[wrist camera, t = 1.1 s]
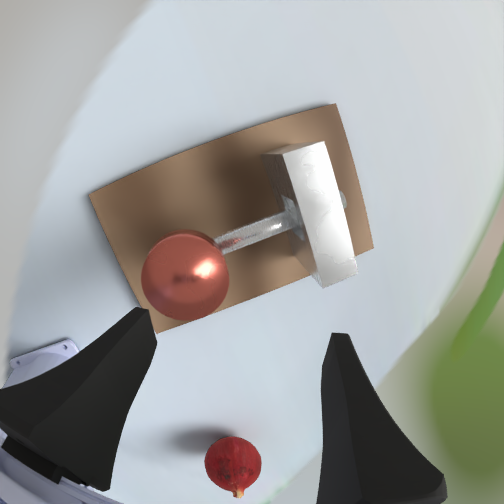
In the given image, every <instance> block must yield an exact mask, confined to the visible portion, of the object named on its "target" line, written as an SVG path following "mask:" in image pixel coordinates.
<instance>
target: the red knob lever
mask: <svg viewBox="0 0 504 504" xmlns="http://www.w3.org/2000/svg"><path fill="white" fill-rule="evenodd" d="M339 194H340V198H341V202H342V205H343V209H344V208H346V206H347V203H346V199H345V196H344V194H343V193H342V192H341V191H340V190H339ZM297 226H300V222H299V219H298V215H297V212H296V209H295V206H294V207H291V208H288V209H286V210H283V211H280V212H277V213H275V214H272V215H269V216H267V217H264V218H262V219H259V220H256V221H254V222H251V223H248V224H246V225H243V226H241V227H238V228H235V229H233V230H230V231H228V232H225V233H222V234H220V235H217V236H215V237H212V238H211V237H209V236H208V235H206V234H204V233H202V232H199V231H196V230H190V229H181V230H175V231H172V232H169V233H167V234H165V235H164V236H162V237H161V238H160V239H159V240H157V241H156V243H155V244H154V245H153V246H152V248H151V250H150V252H149V254H148V256H147V258H146V260H145V262H144V265H143V268H142V272H141V284H142V289H143V292H144V294H145V297H146V298H147V300H148V302H149V303H150V304H151V305H152V306H153V307H154V308H155V309H156V310H157V311H158V312H160V313H161V314H163V315H165V316H167V317H169V318H172V319H176V320H183V321H189V320H196V319H200V318H203V317H205V316H207V315H209V314H211V313H212V312H214V311H215V310H216V309H217V308H218V307H219V306H220V305H221V304H222V302H223V301H224V299H225V297H226V295H227V292H228V288H229V273H228V268H227V264H226V260H225V257H224V254H227V253H230V252H232V251H235V250H237V249H240V248H242V247H245V246H248V245H250V244H253V243H255V242H258V241H261V240H263V239H266V238H268V237H271V236H273V235H276V234H279V233H281V232H284V231H286V230H289V229H292V228H294V227H297Z"/></svg>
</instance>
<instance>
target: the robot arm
mask: <svg viewBox="0 0 504 504" xmlns="http://www.w3.org/2000/svg"><path fill="white" fill-rule="evenodd" d="M64 345H66V346H67V347H65V346H64ZM156 346H157V340H156V337H155V333H154V329H153V325H152V321H151V317H150V313H149V309H144V308H138V307H135V308H134V309H133V310H131V311H130V312H129V313H128V314H126V315H125V316H124V317H123V318H122V319H120V320H119V321H118V322H117V323H116V324H114V325H113V326H112V327H111V328H110V329H108V330H107V331H106V332H105V333H104V334H102V335H101V336H100V337H99V338H97V339H96V340H95V341H93V342H92V343H91V344H89V345H88V346H87V347H85V348H84V349H83V350H81V351H79V349H78V348H77V346H76V345H75V343H74V342H73V341H72V340H70V339H67V340H64V341H61V342H58V343H55V344H53V345H50V346H47V347H44V348H41V349H38V350H36V351H33V352H30V353H27V354H24V355H21V356H19V357H16V358H13V359H11V360H10V362H9V363H10V365H11V367H12V368H13V372H12V373H11V375H10V376H9V378H8V380H7V381H6V383H5V384H4V386H3V387H2V389H0V504H123V503H120V502H117V501H115V500H112V499H110V498H107V497H105V496H103V495H100V494H98V493H96V492H94V489H93V488H95V489H97V490H100V491H102V492H104V491H107V490H109V489H110V485H111V478H112V472H113V466H114V461H115V457H116V452H117V448H118V444H119V441H120V437H121V433H122V430H123V427H124V424H125V421H126V417H127V414H128V412H129V409H130V407H131V405H132V402H133V400H134V398H135V396H136V394H137V392H138V390H139V388H140V386H141V384H142V381H143V379H144V377H145V375H146V373H147V371H148V369H149V367H150V364H151V362H152V359H153V356H154V353H155V349H156ZM321 402H322V423H323V452H322V463H321V474H320V482H319V490H318V497H317V503H316V504H441V503H442V502H444V501H445V500H446V498H447V487H446V482H445V478H444V474H442V473H441V472H440V471H439V470H438V469H437V468H436V467H435V466H433V465H432V464H431V463H430V462H429V461H428V460H427V459H426V458H425V457H424V456H423V455H422V454H421V453H420V452H419V451H418V450H417V449H416V448H415V446H414V445H413V444H412V443H411V441H410V440H409V439H408V438H407V437H406V436H405V435H404V433H403V432H402V431H401V429H400V428H399V427H398V425H397V424H396V423H395V421H394V420H393V419H392V417H391V416H390V414H389V413H388V411H387V410H386V408H385V407H384V405H383V403H382V402H381V400H380V399H379V397H378V395H377V393H376V391H375V390H374V388H373V386H372V384H371V382H370V380H369V378H368V376H367V374H366V372H365V370H364V368H363V366H362V364H361V362H360V360H359V358H358V355H357V353H356V351H355V349H354V346H353V344H352V341H351V339H350V336H349V335H348V334H345V333H332V334H331V338H330V341H329V345H328V348H327V351H326V355H325V358H324V362H323V365H322V377H321Z"/></svg>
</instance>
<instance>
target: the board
mask: <svg viewBox="0 0 504 504" xmlns="http://www.w3.org/2000/svg"><path fill="white" fill-rule="evenodd" d="M319 141H324V142H325V146H326V149H327V152H328V155H329V159H330V162H331V166H332V169H333V172H334V176H335V179H336V183H337V187H338V190H340V191H341V192H342V193H343V194H344V196H345V199H346V203H347V206H346V208H344V213H345V217H346V221H347V225H348V229H349V233H350V238H351V242H352V246H353V251H354V255H355V256H357V255H359V254H362V253H364V252H366V251H368V250H371V249H373V248H374V246H373V241H372V236H371V232H370V227H369V222H368V218H367V213H366V209H365V204H364V200H363V196H362V192H361V188H360V184H359V180H358V176H357V172H356V169H355V165H354V161H353V158H352V154H351V151H350V147H349V144H348V140H347V137H346V134H345V130H344V127H343V124H342V121H341V118H340V115H339V111H338V108H337V105H336V103H335V104H331V105H327V106H323V107H319V108H315V109H311V110H308V111H304V112H300V113H297V114H293V115H290V116H286V117H283V118H279V119H276V120H273V121H269V122H266V123H263V124H260V125H257V126H254V127H251V128H248V129H245V130H242V131H239V132H236V133H233V134H230V135H227V136H224V137H221V138H219V139H216V140H213V141H210V142H208V143H205V144H202V145H200V146H197V147H194V148H192V149H189V150H187V151H184V152H182V153H179V154H177V155H174V156H172V157H169V158H167V159H165V160H162V161H160V162H157V163H155V164H153V165H150V166H148V167H146V168H144V169H141V170H139V171H137V172H135V173H132V174H130V175H128V176H126V177H124V178H122V179H120V180H117V181H115V182H113V183H111V184H109V185H107V186H105V187H103V188H101V189H99V190H97V191H95V192H93V193H91V194H89V197H90V200H91V202H92V204H93V207H94V209H95V212H96V214H97V216H98V219H99V221H100V223H101V225H102V228H103V230H104V232H105V234H106V237H107V239H108V241H109V243H110V245H111V247H112V250H113V252H114V254H115V256H116V258H117V260H118V262H119V264H120V266H121V268H122V270H123V272H124V274H125V276H126V278H127V280H128V282H129V284H130V286H131V288H132V290H133V292H134V294H135V296H136V298H137V299H138V301H139V303H140V305H141V307H142V308H144V309H149V313H150V317H151V321H152V325H153V328H154V330H155V332H156V333H157V334H158V333H160V332H163V331H166V330H169V329H172V328H175V327H177V326H180V325H183V324H186V323H188V322H191V321H194V320H189V321H183V320H176V319H172V318H169V317H167V316H165V315H163V314H161V313H160V312H158V311H157V310H156V309H155V308H154V307H153V306H152V305H151V304H150V303H149V302H148V300H147V298H146V297H145V294H144V292H143V289H142V284H141V272H142V268H143V265H144V262H145V260H146V258H147V256H148V254H149V252H150V250H151V248H152V246H153V245H154V244H155V243H156V241H157V240H159V239H160V238H161V237H162V236H164V235H165V234H167V233H169V232H172V231H175V230H181V229H190V230H196V231H199V232H202V233H204V234H206V235H208V236H209V237H211V238H212V237H215V236H217V235H220V234H222V233H225V232H228V231H230V230H233V229H235V228H238V227H241V226H243V225H246V224H248V223H251V222H254V221H256V220H259V219H262V218H264V217H267V216H269V215H272V214H275V213H277V212H280V211H279V208H278V205H277V202H276V199H275V196H274V193H273V190H272V187H271V184H270V181H269V178H268V175H267V173H266V170H265V167H264V164H263V161H262V158H261V155H260V154H262V153H265V152H268V151H271V150H274V149H277V148H280V147H283V146H287V145H290V144H295V143H306V142H319ZM224 257H225V260H226V264H227V268H228V273H229V288H228V292H227V295H226V297H225V299H224V301H223V302H222V304H221V305H220V306H219V307H218V308H217V309H216V310H215V311H214V312H212V313H211V314H213V313H216V312H218V311H221V310H224V309H226V308H229V307H231V306H234V305H237V304H239V303H242V302H244V301H247V300H250V299H252V298H255V297H257V296H260V295H262V294H265V293H268V292H270V291H273V290H275V289H278V288H280V287H283V286H285V285H288V284H290V283H293V282H295V281H297V280H300V279H302V278H305V277H307V276H310V274H309V272H308V271H307V270H306V269H305V268H304V267H303V266H302V265H301V264H300V262H299V261H298V260H297V259H296V258H295V257H294V255H293V251H292V248H291V245H290V242H289V239H288V236H287V233H286V231H284V232H281V233H279V234H276V235H273V236H271V237H268V238H266V239H263V240H261V241H258V242H255V243H253V244H250V245H248V246H245V247H242V248H240V249H237V250H235V251H232V252H230V253H227V254H224ZM209 315H210V314H209ZM196 320H197V319H196Z"/></svg>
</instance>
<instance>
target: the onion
mask: <svg viewBox="0 0 504 504" xmlns="http://www.w3.org/2000/svg"><path fill="white" fill-rule="evenodd" d="M204 462H205V468H206V472H207V474H208V477H209V478H210V479H211V481H213V482H214V483H215V484H216V485H217V486H219V487H221V488H222V489H225V490H228V491H231V492H233V496H234V497H236V498H241V497H242V496H243V495H244V490H245V489H246V488H248V487H249V486H250V485H252V484H253V483H254V482H255V481H256V480H257V478H258V477H259V474H260V471H261V463H262V462H261V456H260V454H259V453H258V451H257V449H256V448H255V447H254V446H253V445H252V444H251V443H250V442H248V441H246V440H244V439H242V438H239V437H226V438H222V439H220V440H218V441H217V442H215V443H214V444H212V445H211V447H210V448H209V449H208V451H207V453H206V456H205V460H204Z"/></svg>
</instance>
